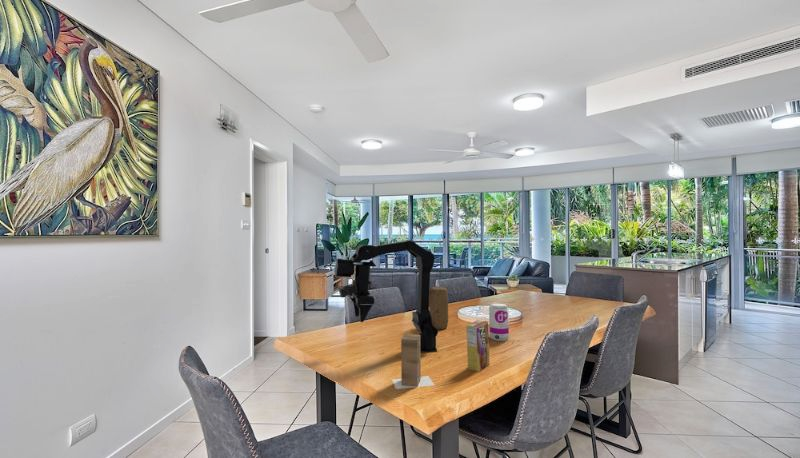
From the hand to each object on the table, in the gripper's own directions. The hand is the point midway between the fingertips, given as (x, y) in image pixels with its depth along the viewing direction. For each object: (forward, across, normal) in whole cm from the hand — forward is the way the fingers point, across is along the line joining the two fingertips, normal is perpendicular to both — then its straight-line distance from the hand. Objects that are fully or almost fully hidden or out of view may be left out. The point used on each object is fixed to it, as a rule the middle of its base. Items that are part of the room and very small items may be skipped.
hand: (359, 319), depth 131 cm
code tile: (+14, +28, +12) cm, 33 cm away
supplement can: (+10, -3, +64) cm, 65 cm away
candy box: (+12, +23, +38) cm, 46 cm away
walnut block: (+13, +28, +11) cm, 33 cm away
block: (+11, -30, +48) cm, 57 cm away
